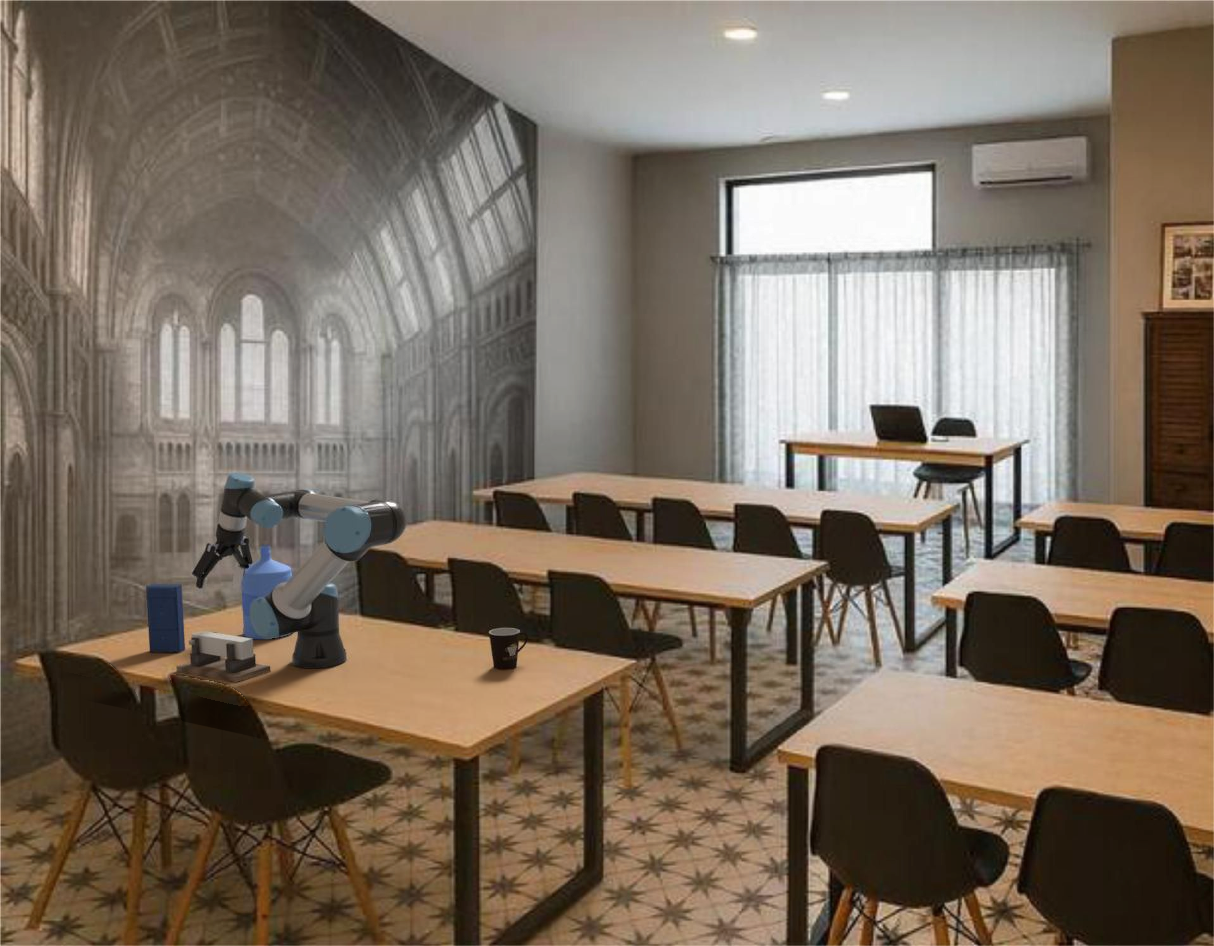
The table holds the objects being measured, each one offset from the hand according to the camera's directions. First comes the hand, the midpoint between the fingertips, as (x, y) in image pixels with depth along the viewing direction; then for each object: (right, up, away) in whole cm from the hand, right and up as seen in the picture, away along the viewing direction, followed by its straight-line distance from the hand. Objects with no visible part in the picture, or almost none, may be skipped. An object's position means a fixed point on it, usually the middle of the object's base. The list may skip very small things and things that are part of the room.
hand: (218, 591), depth 328 cm
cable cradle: (+5, -21, -11) cm, 24 cm away
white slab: (+5, -16, -11) cm, 20 cm away
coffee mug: (+85, -20, -10) cm, 88 cm away
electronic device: (-19, -19, +13) cm, 30 cm away
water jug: (+5, -17, +32) cm, 36 cm away
